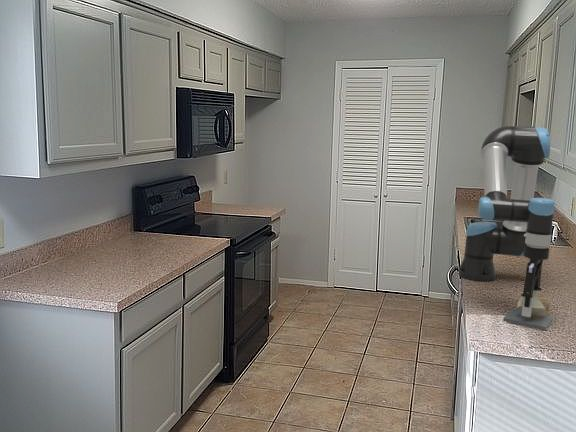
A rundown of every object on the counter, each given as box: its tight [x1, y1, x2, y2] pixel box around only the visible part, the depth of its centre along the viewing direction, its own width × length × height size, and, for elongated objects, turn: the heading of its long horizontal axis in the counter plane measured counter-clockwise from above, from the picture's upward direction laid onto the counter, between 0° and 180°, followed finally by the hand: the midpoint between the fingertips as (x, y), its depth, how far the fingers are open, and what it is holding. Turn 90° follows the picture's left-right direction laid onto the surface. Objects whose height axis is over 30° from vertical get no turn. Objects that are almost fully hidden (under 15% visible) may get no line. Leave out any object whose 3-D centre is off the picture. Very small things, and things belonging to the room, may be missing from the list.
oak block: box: [538, 296, 550, 315], centre depth 198 cm, size 5×5×5 cm
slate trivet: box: [502, 307, 554, 331], centre depth 190 cm, size 13×13×1 cm
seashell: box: [515, 292, 546, 314], centre depth 190 cm, size 8×8×8 cm
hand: (529, 312), depth 190 cm, fingers closed on seashell, 8 cm apart
